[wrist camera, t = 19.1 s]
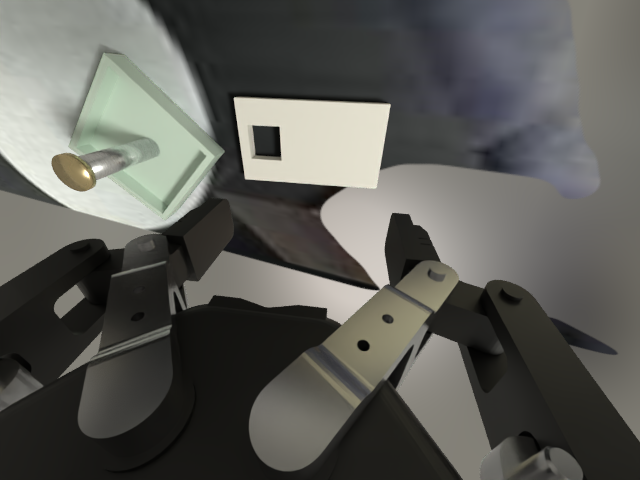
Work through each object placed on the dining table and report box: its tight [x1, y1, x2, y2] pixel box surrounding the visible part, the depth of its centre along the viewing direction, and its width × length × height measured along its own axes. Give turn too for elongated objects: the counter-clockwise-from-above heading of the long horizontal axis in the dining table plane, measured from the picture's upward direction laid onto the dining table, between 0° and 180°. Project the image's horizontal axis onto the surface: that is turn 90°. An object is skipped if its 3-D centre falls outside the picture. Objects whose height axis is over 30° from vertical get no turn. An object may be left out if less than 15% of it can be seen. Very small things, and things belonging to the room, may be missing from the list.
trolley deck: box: [234, 97, 390, 189], centre depth 38 cm, size 22×12×2 cm, turn 88°
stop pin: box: [52, 138, 160, 191], centre depth 36 cm, size 5×5×14 cm
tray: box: [68, 53, 225, 220], centre depth 41 cm, size 18×18×4 cm
